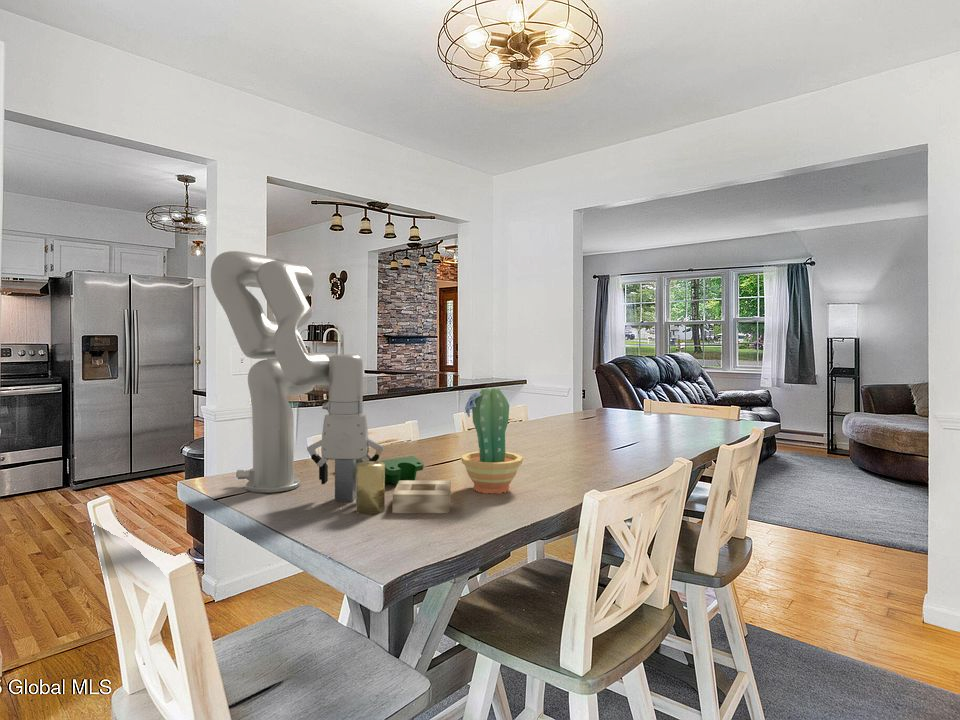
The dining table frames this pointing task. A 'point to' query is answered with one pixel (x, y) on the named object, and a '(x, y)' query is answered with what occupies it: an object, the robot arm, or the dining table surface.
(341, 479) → the square bit
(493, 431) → the potted cactus
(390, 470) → the clamp
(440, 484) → the socket block
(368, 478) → the round bit
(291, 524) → the dining table surface
